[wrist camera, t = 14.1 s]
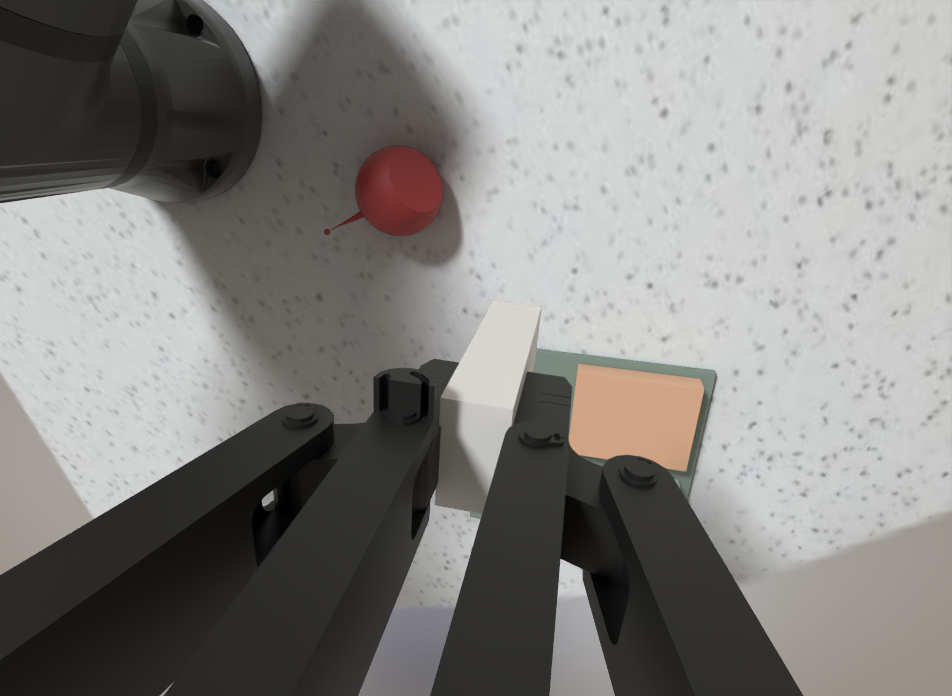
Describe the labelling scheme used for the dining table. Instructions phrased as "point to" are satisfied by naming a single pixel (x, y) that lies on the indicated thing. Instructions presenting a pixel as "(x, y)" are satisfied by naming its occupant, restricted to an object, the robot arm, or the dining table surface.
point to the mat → (568, 367)
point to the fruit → (397, 191)
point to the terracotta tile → (635, 415)
